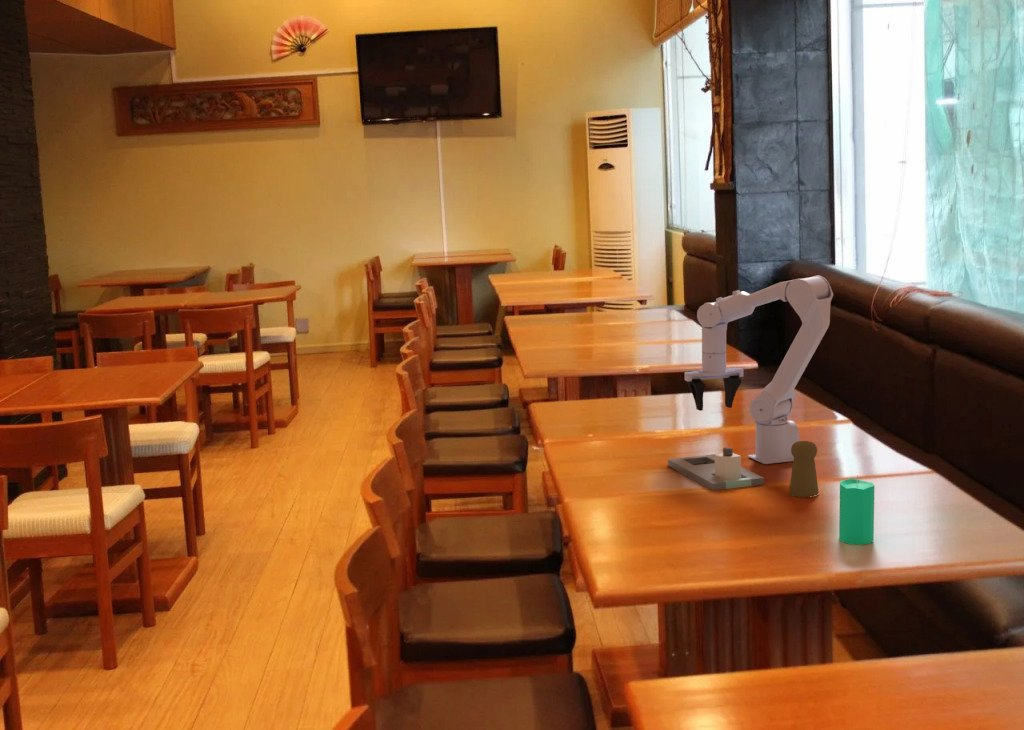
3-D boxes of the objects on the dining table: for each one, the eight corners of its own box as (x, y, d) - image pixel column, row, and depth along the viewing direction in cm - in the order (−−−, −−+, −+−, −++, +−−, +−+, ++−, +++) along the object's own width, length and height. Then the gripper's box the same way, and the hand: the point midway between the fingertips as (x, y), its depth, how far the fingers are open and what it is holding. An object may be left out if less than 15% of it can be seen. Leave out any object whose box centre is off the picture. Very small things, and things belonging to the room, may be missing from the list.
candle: (834, 535, 210) (834, 471, 208) (865, 533, 211) (866, 470, 209) (846, 545, 204) (847, 480, 202) (879, 543, 205) (880, 478, 203)
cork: (819, 498, 234) (820, 445, 233) (789, 497, 236) (789, 445, 234) (818, 490, 240) (818, 438, 238) (788, 489, 241) (788, 438, 240)
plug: (730, 478, 252) (730, 445, 250) (741, 482, 248) (741, 449, 247) (714, 481, 250) (714, 447, 249) (725, 485, 246) (725, 451, 245)
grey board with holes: (715, 460, 268) (715, 454, 267) (763, 484, 246) (763, 477, 246) (668, 465, 264) (668, 459, 264) (712, 490, 243) (712, 483, 242)
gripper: (733, 347, 279) (733, 402, 281) (678, 352, 275) (679, 407, 277) (747, 351, 272) (747, 408, 274) (691, 356, 268) (691, 413, 270)
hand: (714, 408), depth 275 cm, fingers open, 7 cm apart
